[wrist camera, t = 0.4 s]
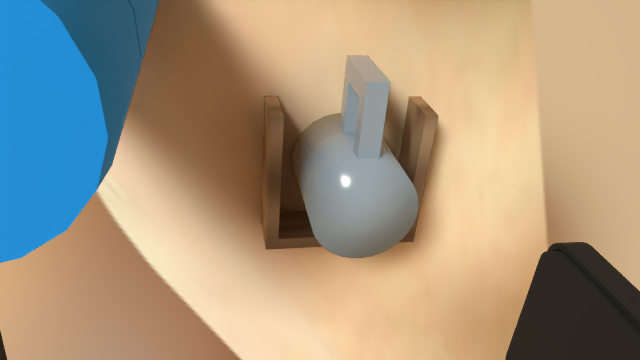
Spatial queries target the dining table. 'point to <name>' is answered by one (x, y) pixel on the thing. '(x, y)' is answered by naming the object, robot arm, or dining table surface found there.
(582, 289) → the robot arm
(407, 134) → the caddy
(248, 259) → the dining table surface
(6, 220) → the blue domino block
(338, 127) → the grey-blue mug
